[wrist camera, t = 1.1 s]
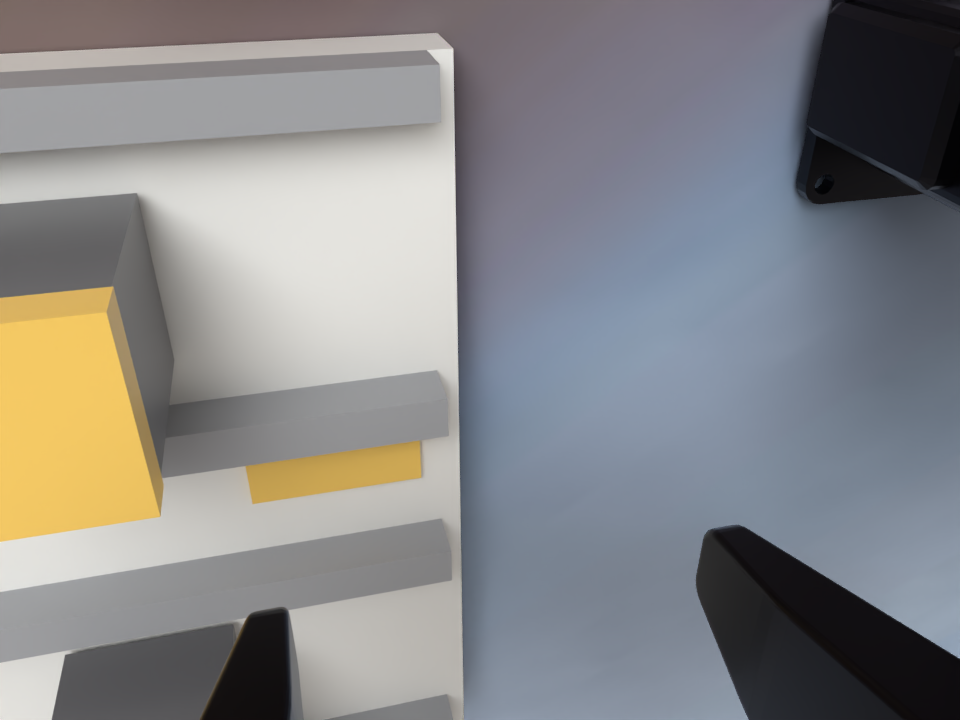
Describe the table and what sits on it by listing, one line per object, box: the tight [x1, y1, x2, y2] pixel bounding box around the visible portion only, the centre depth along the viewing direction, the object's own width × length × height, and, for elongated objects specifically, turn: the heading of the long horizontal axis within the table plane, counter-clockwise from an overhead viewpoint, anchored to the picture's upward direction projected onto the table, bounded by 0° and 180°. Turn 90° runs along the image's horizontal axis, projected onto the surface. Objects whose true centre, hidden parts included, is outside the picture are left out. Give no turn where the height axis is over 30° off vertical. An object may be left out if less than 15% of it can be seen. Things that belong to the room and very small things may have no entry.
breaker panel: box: [0, 33, 464, 720], centre depth 19 cm, size 18×20×3 cm
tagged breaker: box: [0, 193, 174, 542], centre depth 14 cm, size 4×4×5 cm
